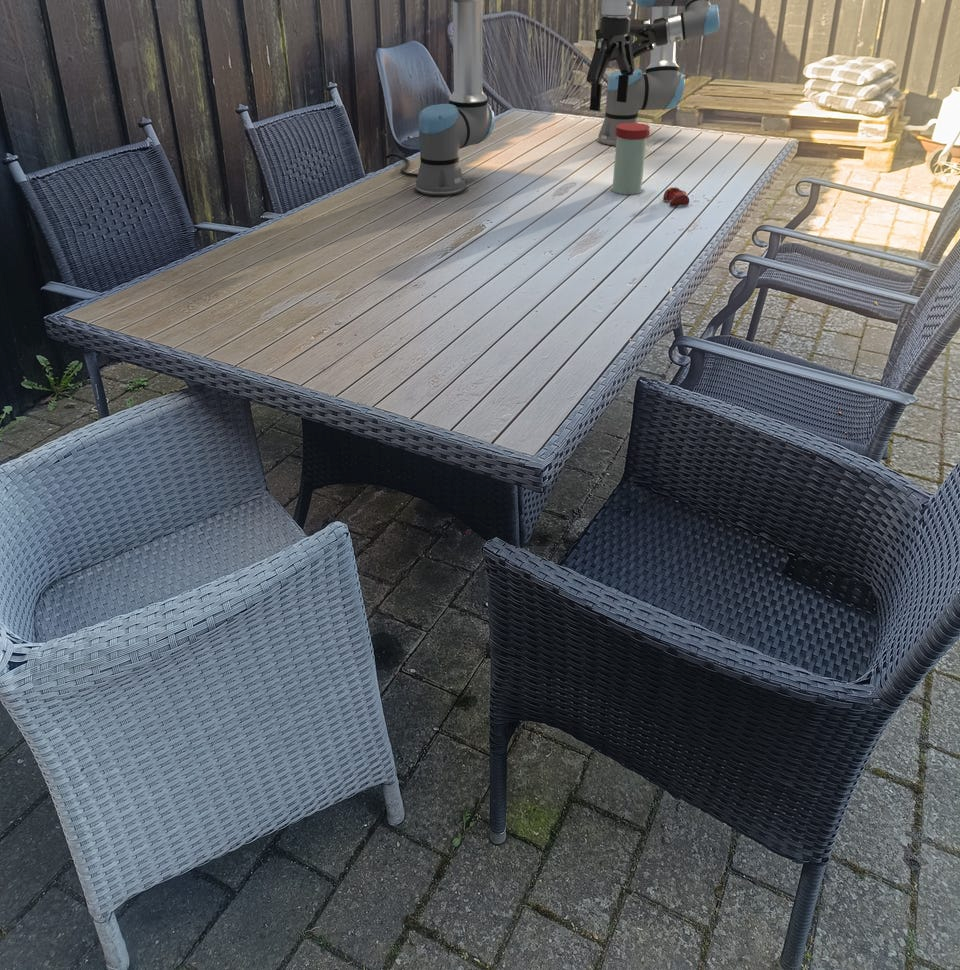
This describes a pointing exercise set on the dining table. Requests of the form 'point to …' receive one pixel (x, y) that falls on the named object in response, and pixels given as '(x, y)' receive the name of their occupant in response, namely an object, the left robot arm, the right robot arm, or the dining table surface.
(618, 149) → the jar
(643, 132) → the lid
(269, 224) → the dining table surface
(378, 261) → the dining table surface
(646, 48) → the right robot arm
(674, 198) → the dental model
